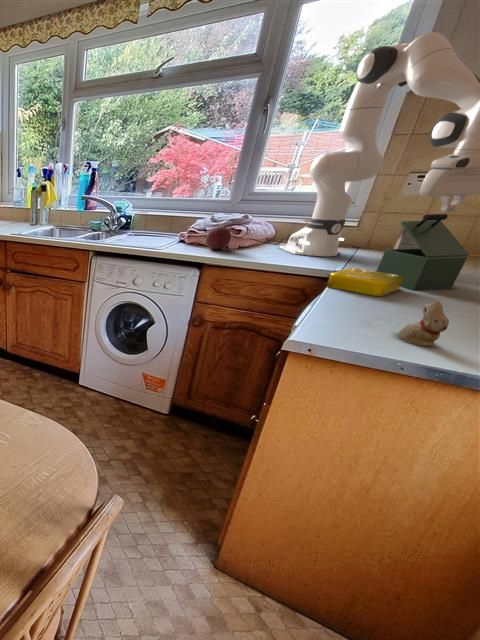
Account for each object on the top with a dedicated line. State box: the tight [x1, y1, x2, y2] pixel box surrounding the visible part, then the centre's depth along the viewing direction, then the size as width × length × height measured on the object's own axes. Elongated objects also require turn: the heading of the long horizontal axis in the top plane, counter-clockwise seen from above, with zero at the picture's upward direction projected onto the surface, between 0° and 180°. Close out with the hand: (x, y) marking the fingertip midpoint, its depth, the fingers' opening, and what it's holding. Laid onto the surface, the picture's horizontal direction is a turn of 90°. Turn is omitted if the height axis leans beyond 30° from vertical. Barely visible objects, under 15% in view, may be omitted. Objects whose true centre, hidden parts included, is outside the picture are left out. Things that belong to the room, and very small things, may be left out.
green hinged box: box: [376, 248, 468, 291], centre depth 141 cm, size 15×13×10 cm
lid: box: [400, 213, 470, 258], centre depth 134 cm, size 16×13×5 cm
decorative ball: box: [205, 226, 232, 251], centre depth 197 cm, size 10×10×10 cm
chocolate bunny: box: [397, 300, 450, 348], centre depth 100 cm, size 6×8×10 cm
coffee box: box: [393, 226, 419, 249], centre depth 156 cm, size 9×6×16 cm
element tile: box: [326, 267, 403, 297], centre depth 139 cm, size 15×15×5 cm
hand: (447, 211), depth 132 cm, fingers closed
